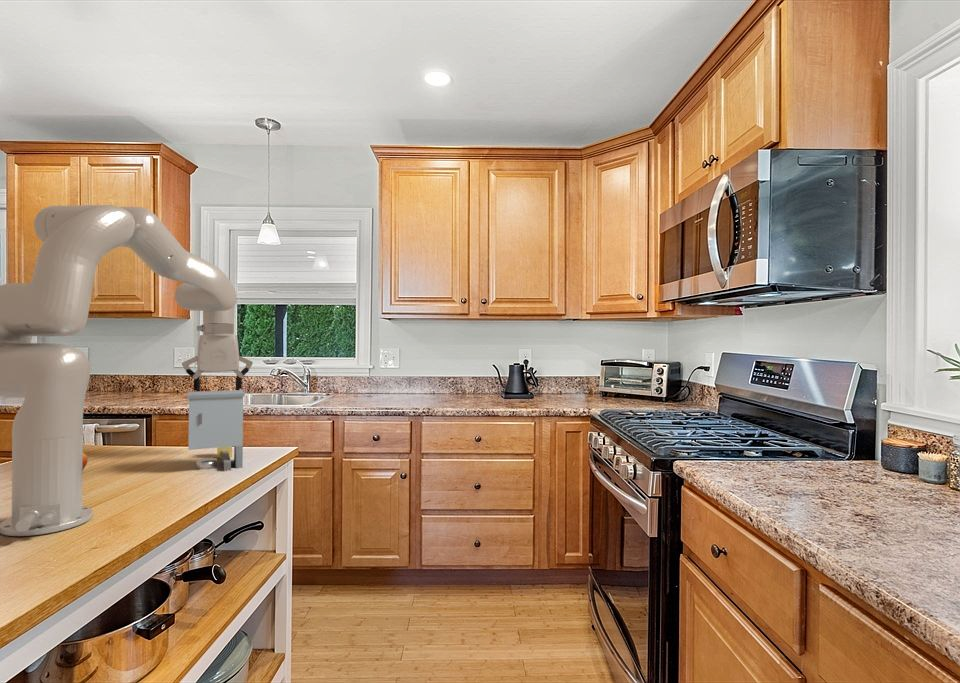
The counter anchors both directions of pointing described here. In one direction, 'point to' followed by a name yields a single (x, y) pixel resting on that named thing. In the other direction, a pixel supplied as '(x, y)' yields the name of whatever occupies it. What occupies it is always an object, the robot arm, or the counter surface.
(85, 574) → the counter surface
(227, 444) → the cabinet
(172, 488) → the counter surface
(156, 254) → the robot arm
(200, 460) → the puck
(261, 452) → the counter surface
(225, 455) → the blade tool
